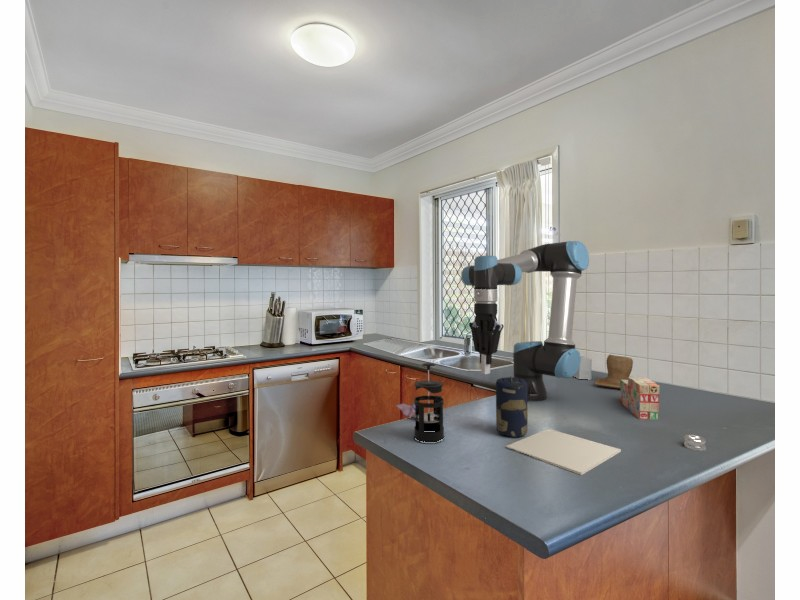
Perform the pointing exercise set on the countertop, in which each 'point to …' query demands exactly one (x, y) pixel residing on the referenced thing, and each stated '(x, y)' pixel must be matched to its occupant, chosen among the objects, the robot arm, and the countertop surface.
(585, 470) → the mat
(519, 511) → the countertop surface
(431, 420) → the french press
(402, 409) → the rabbit figure
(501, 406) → the canister
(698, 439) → the grooved metal pulley
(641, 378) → the stack of blocks
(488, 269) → the robot arm
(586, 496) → the countertop surface
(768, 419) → the countertop surface
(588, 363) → the skincare box
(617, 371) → the brown wooden stand
